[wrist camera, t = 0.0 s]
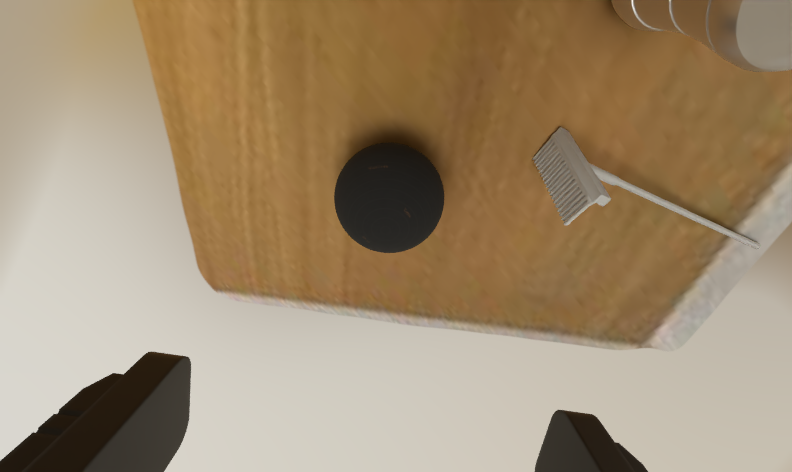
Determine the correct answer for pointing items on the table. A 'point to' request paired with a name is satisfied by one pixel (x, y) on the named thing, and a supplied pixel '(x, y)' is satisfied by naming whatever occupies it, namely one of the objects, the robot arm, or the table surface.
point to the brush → (594, 183)
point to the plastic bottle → (722, 27)
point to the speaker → (389, 197)
